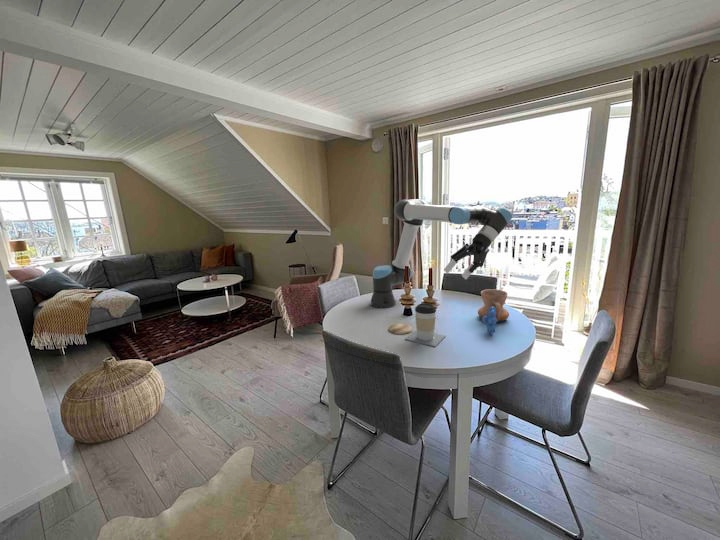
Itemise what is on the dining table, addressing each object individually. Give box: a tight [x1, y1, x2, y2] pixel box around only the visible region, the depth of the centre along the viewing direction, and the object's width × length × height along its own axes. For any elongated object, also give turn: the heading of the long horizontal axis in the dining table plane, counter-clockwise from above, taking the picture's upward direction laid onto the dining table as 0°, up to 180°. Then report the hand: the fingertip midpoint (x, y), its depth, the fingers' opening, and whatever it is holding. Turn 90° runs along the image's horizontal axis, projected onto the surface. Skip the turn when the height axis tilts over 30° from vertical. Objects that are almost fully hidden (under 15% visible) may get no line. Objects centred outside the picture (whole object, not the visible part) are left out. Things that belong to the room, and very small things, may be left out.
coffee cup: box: [414, 303, 437, 340], centre depth 129 cm, size 9×9×15 cm
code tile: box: [404, 329, 446, 348], centre depth 130 cm, size 14×12×1 cm
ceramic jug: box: [477, 288, 510, 322], centre depth 148 cm, size 18×14×14 cm
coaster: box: [388, 323, 413, 335], centre depth 141 cm, size 11×11×1 cm
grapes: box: [481, 306, 499, 335], centre depth 133 cm, size 12×7×12 cm, turn 157°
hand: (454, 274), depth 129 cm, fingers open, 13 cm apart
